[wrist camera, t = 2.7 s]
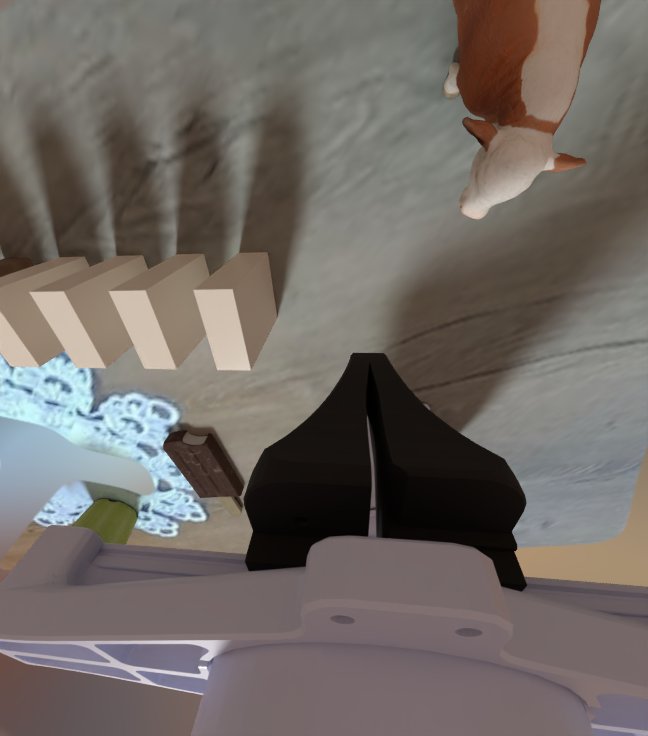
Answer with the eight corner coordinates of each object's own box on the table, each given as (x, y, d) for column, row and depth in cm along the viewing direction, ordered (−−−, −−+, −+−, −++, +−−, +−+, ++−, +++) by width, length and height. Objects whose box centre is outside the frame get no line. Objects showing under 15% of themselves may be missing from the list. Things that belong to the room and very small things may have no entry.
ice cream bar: (257, 507, 39) (209, 425, 31) (254, 519, 38) (203, 438, 30) (221, 508, 40) (165, 430, 32) (216, 520, 39) (157, 442, 31)
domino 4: (267, 252, 20) (232, 289, 15) (277, 317, 23) (250, 370, 17) (239, 252, 21) (193, 289, 15) (251, 317, 23) (217, 369, 18)
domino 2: (142, 255, 21) (63, 291, 16) (166, 317, 24) (106, 368, 18) (116, 255, 21) (28, 291, 16) (142, 317, 24) (76, 367, 18)
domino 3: (203, 253, 21) (145, 290, 15) (220, 317, 24) (176, 369, 18) (176, 254, 21) (108, 290, 15) (196, 317, 24) (144, 368, 18)
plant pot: (164, 519, 43) (125, 590, 36) (125, 532, 47) (83, 599, 39) (107, 483, 39) (51, 556, 32) (69, 500, 42) (12, 569, 35)
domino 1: (84, 256, 22) (-13, 292, 16) (114, 317, 24) (39, 366, 19) (59, 257, 22) (-46, 292, 16) (91, 317, 25) (10, 366, 19)
